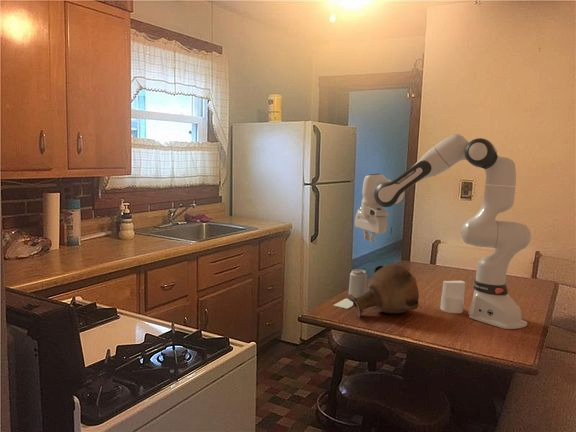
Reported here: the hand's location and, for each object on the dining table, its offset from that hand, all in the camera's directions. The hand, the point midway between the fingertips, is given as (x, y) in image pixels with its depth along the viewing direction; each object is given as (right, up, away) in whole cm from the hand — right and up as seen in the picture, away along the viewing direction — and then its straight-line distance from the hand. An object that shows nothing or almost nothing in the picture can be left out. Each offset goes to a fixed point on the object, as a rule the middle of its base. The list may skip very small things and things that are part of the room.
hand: (368, 240), depth 224 cm
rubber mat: (-12, -26, -15) cm, 32 cm away
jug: (+1, -28, -24) cm, 37 cm away
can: (-6, -25, -4) cm, 26 cm away
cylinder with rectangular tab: (+32, -28, -15) cm, 45 cm away
